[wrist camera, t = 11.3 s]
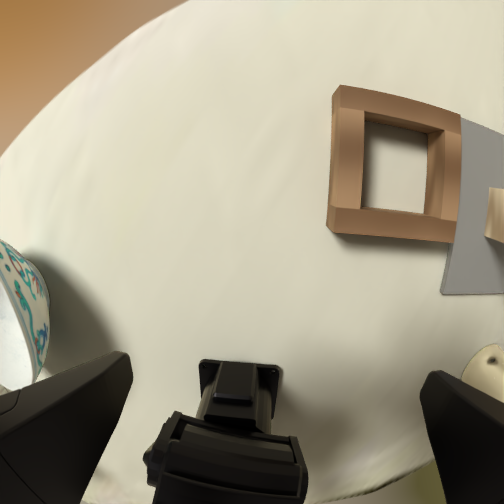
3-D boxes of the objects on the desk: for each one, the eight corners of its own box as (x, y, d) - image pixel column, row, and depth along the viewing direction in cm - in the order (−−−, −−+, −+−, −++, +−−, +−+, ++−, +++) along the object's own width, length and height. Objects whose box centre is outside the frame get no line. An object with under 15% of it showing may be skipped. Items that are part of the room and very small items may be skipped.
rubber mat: (514, 290, 19) (517, 292, 18) (439, 291, 19) (443, 294, 19) (531, 150, 15) (535, 151, 15) (456, 118, 16) (460, 117, 15)
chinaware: (-20, 241, 22) (-66, 258, 14) (47, 193, 20) (-19, 205, 12) (26, 355, 25) (-10, 387, 17) (106, 348, 23) (62, 398, 15)
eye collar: (436, 235, 18) (453, 243, 16) (326, 225, 19) (333, 232, 16) (442, 119, 16) (460, 114, 14) (331, 95, 17) (340, 84, 14)
